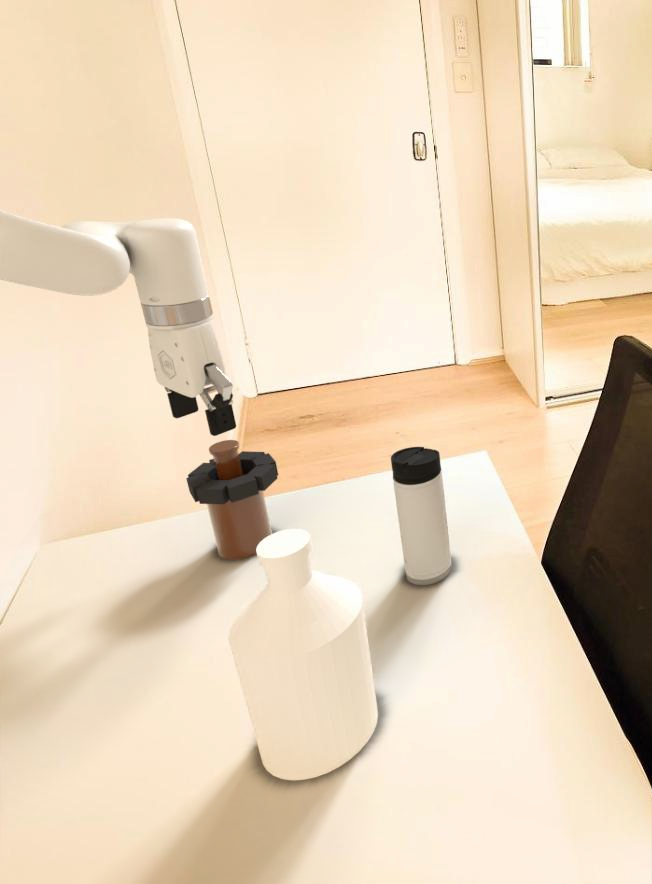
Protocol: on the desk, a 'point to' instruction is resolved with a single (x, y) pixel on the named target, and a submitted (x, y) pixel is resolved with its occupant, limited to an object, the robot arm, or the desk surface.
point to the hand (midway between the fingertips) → (204, 422)
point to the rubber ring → (221, 491)
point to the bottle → (304, 663)
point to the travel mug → (421, 514)
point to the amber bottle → (236, 509)
